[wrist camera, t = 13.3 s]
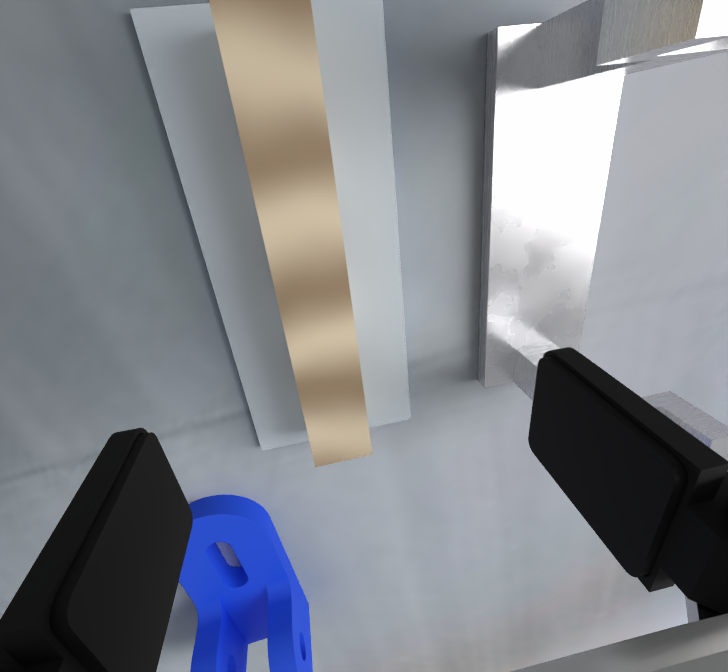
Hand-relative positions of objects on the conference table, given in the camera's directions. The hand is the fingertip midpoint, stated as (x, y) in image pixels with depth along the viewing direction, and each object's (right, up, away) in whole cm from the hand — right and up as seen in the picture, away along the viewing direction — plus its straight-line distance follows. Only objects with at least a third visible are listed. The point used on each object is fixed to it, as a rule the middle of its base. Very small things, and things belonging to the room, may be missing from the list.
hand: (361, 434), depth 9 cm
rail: (-4, +7, +15) cm, 17 cm away
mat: (-4, +7, +16) cm, 17 cm away
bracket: (-11, -19, +26) cm, 34 cm away
